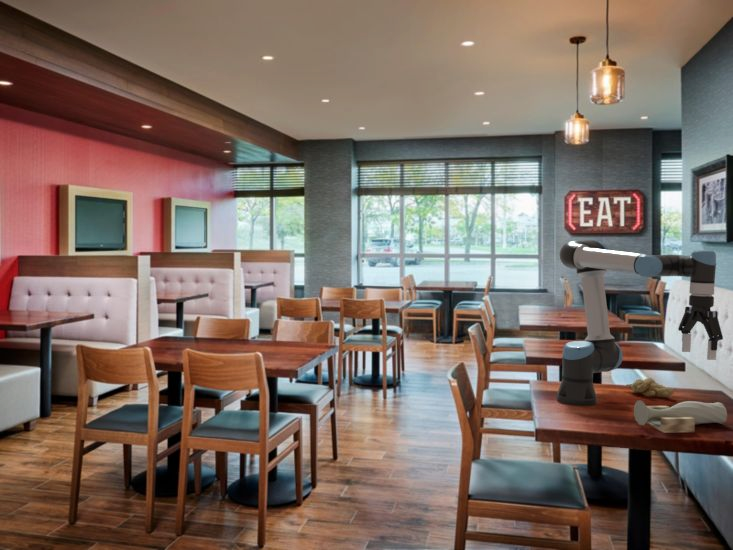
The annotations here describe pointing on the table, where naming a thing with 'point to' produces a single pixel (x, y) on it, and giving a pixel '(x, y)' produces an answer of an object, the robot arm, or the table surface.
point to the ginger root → (650, 388)
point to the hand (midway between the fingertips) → (698, 355)
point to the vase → (683, 412)
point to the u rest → (671, 422)
